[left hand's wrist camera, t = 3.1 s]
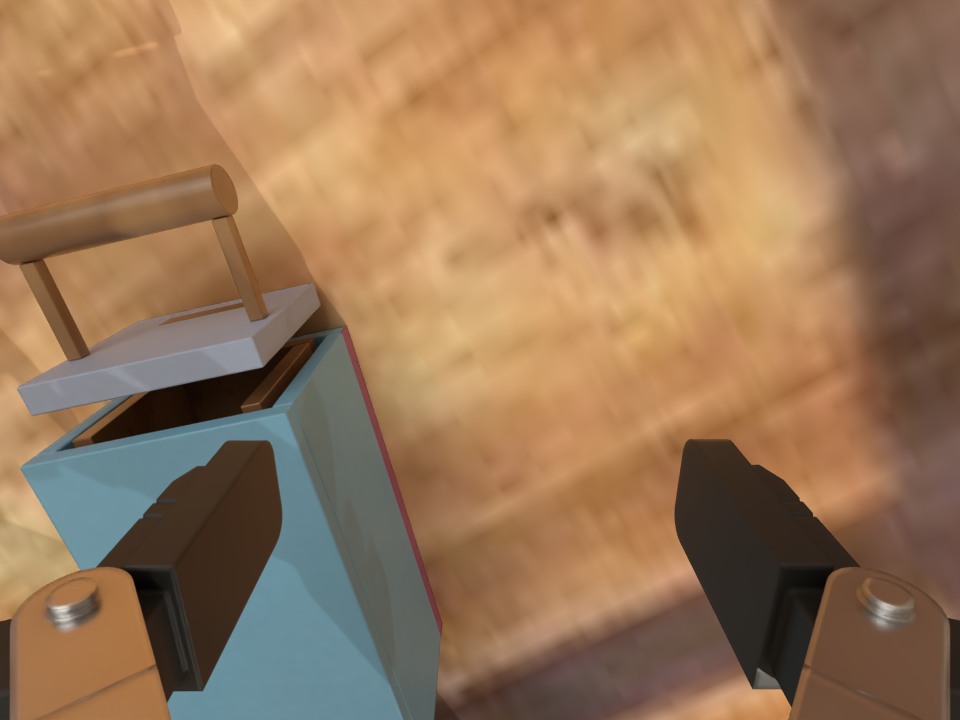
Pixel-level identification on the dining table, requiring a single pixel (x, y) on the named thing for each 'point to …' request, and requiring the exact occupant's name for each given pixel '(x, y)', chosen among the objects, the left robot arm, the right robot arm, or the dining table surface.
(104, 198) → the drawer
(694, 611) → the dining table surface
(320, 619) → the cabinet
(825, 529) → the left robot arm
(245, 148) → the dining table surface
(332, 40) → the dining table surface
